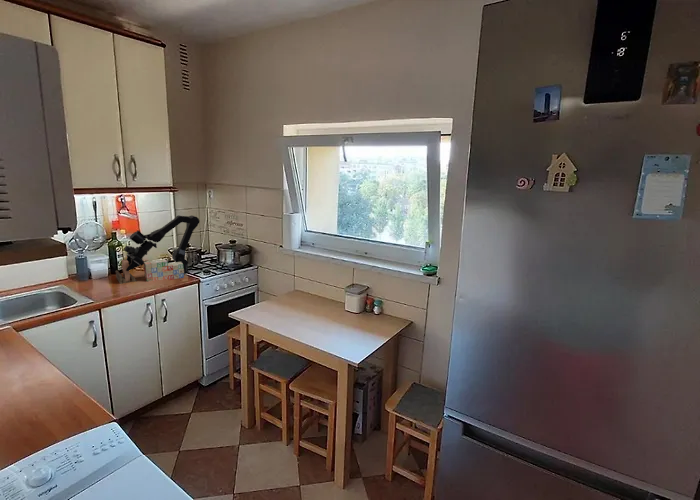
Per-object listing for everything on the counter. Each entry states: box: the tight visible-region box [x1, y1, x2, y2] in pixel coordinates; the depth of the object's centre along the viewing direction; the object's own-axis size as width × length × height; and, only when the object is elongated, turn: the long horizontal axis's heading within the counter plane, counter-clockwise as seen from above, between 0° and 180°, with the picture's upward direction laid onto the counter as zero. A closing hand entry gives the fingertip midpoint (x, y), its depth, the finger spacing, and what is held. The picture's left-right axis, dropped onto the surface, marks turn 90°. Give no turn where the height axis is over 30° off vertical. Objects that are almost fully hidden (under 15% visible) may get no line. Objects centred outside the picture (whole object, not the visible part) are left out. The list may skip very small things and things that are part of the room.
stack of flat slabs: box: [115, 270, 138, 285], centre depth 226 cm, size 9×12×6 cm
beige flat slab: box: [121, 258, 131, 281], centre depth 225 cm, size 2×6×12 cm, turn 41°
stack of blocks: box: [143, 258, 185, 283], centre depth 233 cm, size 21×6×12 cm, turn 128°
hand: (125, 268), depth 225 cm, fingers open, 9 cm apart
